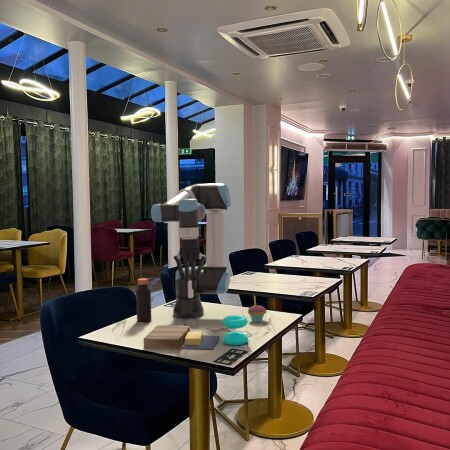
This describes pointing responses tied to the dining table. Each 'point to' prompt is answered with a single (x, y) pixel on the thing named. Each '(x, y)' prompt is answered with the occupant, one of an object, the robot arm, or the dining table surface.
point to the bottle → (143, 301)
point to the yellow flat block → (193, 338)
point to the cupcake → (256, 312)
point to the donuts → (235, 323)
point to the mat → (204, 343)
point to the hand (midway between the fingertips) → (190, 297)
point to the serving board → (166, 337)
